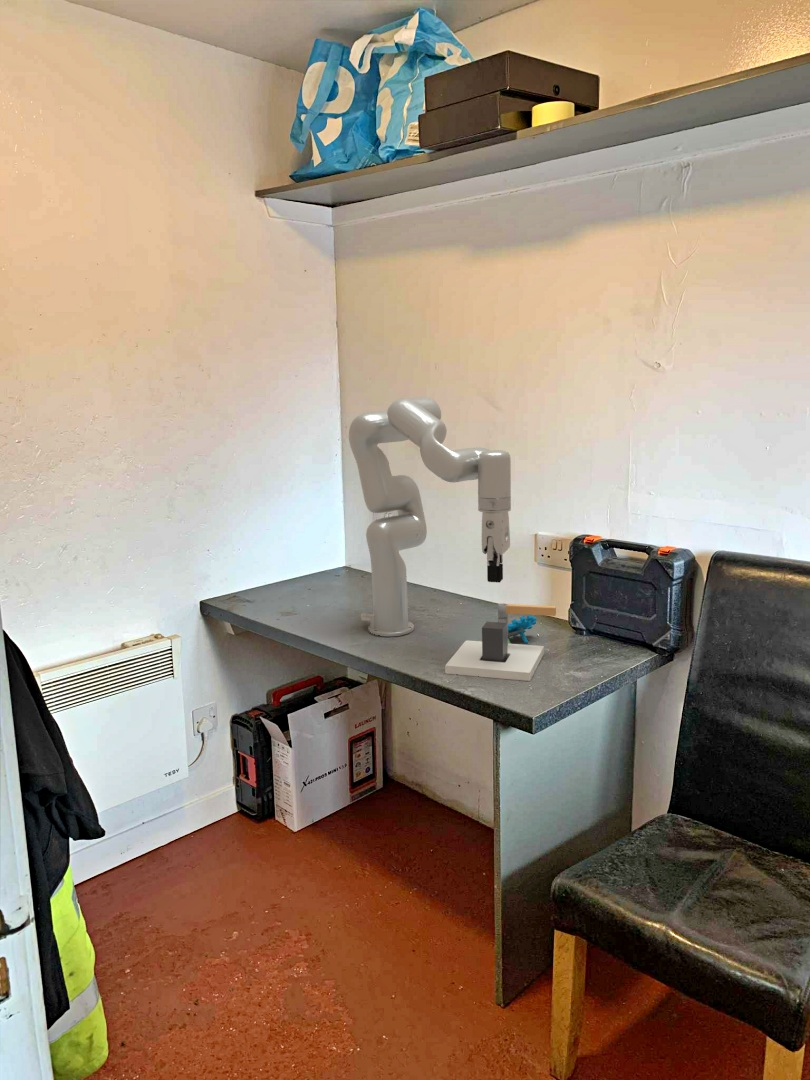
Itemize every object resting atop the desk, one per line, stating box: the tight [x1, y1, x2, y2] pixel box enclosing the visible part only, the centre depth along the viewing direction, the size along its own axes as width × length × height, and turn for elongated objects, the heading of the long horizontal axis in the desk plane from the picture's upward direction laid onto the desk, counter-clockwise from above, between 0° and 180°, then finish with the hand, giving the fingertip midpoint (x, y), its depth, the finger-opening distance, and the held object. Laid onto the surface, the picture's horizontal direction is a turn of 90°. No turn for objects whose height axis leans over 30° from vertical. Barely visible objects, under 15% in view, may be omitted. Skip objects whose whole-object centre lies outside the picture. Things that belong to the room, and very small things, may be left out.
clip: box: [497, 602, 557, 618], centre depth 202 cm, size 2×14×3 cm, turn 74°
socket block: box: [444, 616, 545, 682], centre depth 198 cm, size 20×19×9 cm
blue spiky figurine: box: [508, 615, 538, 645], centre depth 214 cm, size 11×6×10 cm
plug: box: [481, 621, 507, 662], centre depth 197 cm, size 5×5×10 cm
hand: (495, 580), depth 194 cm, fingers closed
